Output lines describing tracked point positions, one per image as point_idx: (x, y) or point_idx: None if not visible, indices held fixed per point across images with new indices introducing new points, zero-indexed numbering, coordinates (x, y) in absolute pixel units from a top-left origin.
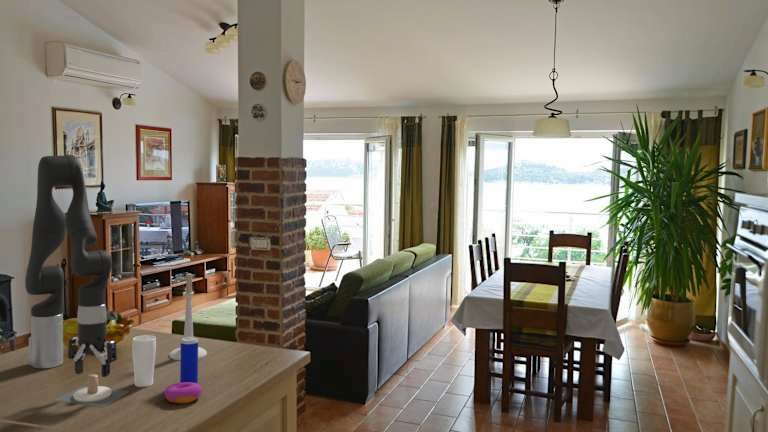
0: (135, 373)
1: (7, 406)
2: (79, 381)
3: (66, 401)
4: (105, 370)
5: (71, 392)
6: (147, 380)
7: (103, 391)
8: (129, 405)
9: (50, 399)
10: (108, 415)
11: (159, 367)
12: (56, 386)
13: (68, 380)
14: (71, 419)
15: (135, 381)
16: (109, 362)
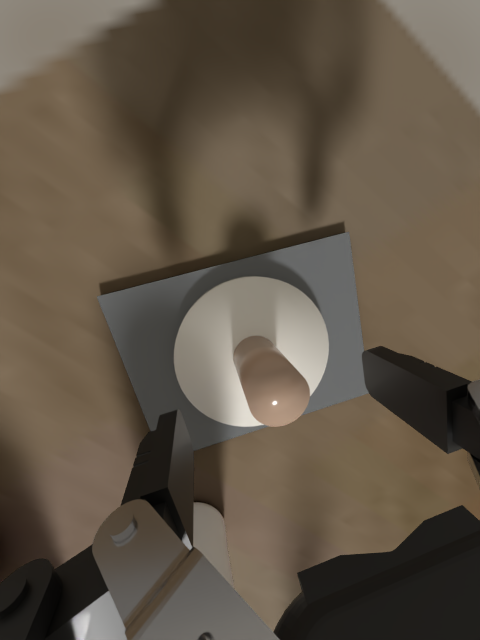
0: None
1: (466, 102)
2: None
3: (292, 252)
4: (147, 459)
5: (352, 325)
6: None
7: (225, 390)
8: (43, 384)
9: (377, 247)
10: (5, 260)
11: None
12: (451, 342)
13: None
14: (106, 132)
15: (201, 522)
16: (27, 573)
